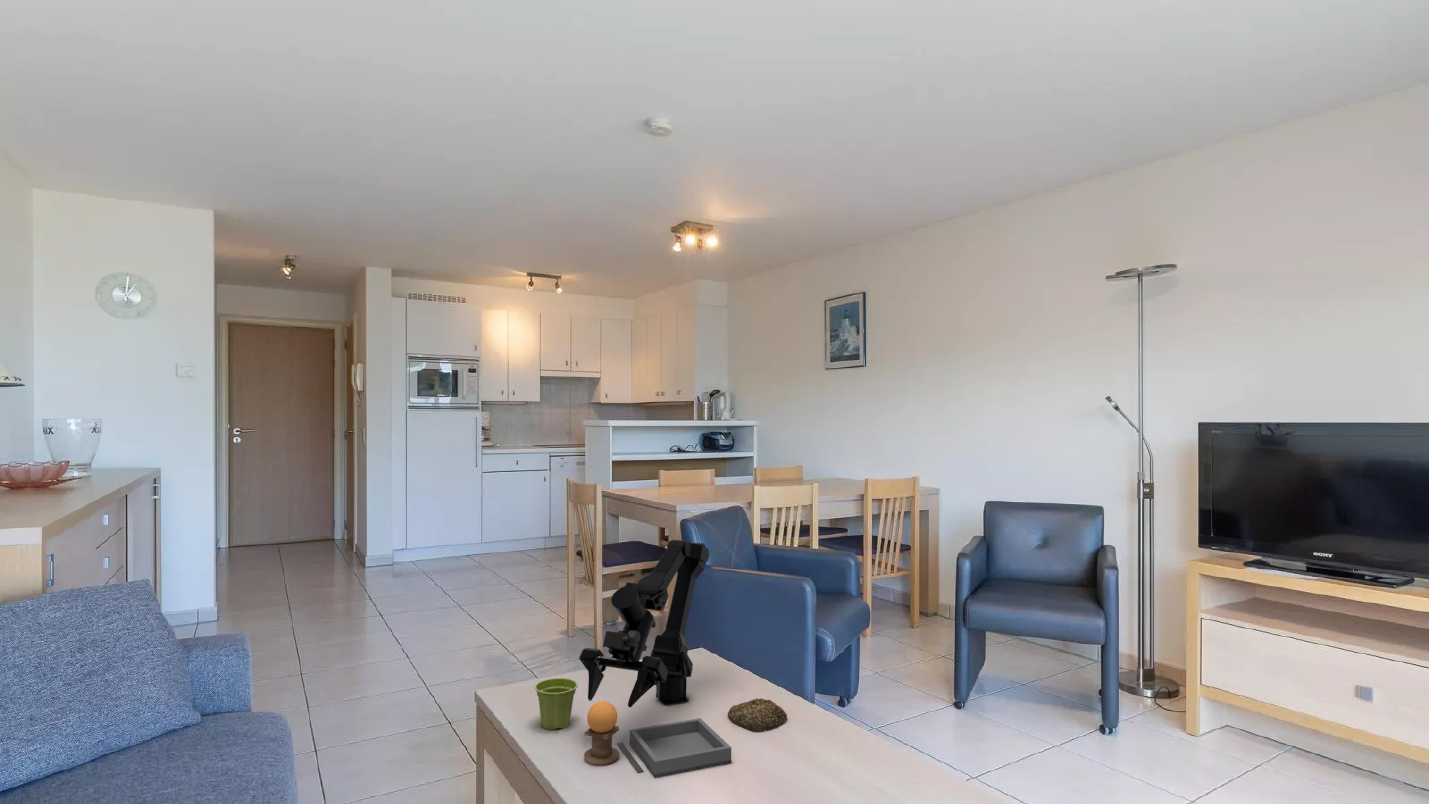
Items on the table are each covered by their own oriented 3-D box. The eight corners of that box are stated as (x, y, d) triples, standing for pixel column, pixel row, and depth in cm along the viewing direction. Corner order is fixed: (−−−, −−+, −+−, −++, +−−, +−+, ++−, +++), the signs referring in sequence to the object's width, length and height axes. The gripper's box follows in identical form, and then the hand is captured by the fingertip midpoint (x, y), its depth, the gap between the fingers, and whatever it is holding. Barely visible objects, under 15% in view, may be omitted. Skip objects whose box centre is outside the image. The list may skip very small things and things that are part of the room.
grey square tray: (700, 732, 164) (700, 718, 164) (731, 762, 149) (731, 747, 149) (629, 744, 157) (629, 729, 157) (654, 777, 143) (654, 761, 143)
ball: (612, 724, 155) (612, 694, 155) (620, 735, 149) (621, 705, 150) (583, 728, 152) (584, 699, 153) (591, 740, 147) (591, 709, 147)
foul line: (622, 743, 158) (622, 742, 158) (643, 772, 145) (643, 771, 145) (616, 744, 157) (616, 743, 157) (637, 773, 144) (637, 772, 144)
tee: (595, 748, 155) (595, 720, 155) (625, 753, 153) (625, 725, 153) (577, 762, 149) (577, 733, 149) (608, 768, 146) (608, 738, 146)
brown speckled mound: (751, 736, 162) (751, 713, 162) (720, 717, 173) (720, 695, 173) (798, 724, 169) (798, 701, 169) (765, 706, 180) (765, 685, 180)
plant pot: (585, 719, 170) (585, 680, 170) (563, 736, 161) (564, 695, 161) (548, 713, 173) (549, 675, 173) (525, 729, 164) (526, 689, 164)
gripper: (584, 610, 162) (554, 677, 152) (662, 619, 156) (637, 690, 145) (601, 637, 169) (574, 703, 159) (677, 647, 163) (654, 717, 152)
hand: (608, 703), depth 154 cm, fingers open, 9 cm apart
